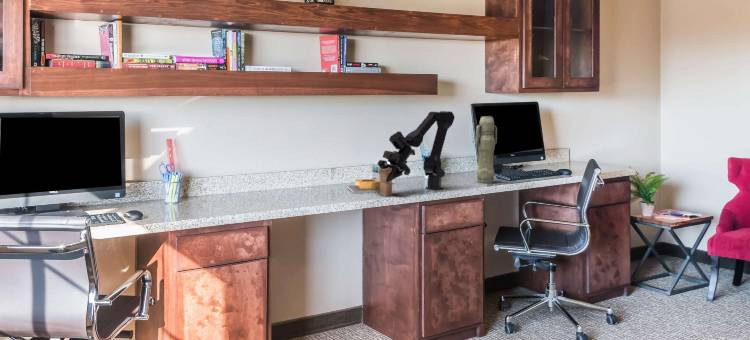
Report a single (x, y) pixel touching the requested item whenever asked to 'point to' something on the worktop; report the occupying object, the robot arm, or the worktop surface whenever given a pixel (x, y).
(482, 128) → the stone statue
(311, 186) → the worktop surface
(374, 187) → the square socket
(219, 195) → the worktop surface
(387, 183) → the tan square block
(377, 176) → the light bulb box
